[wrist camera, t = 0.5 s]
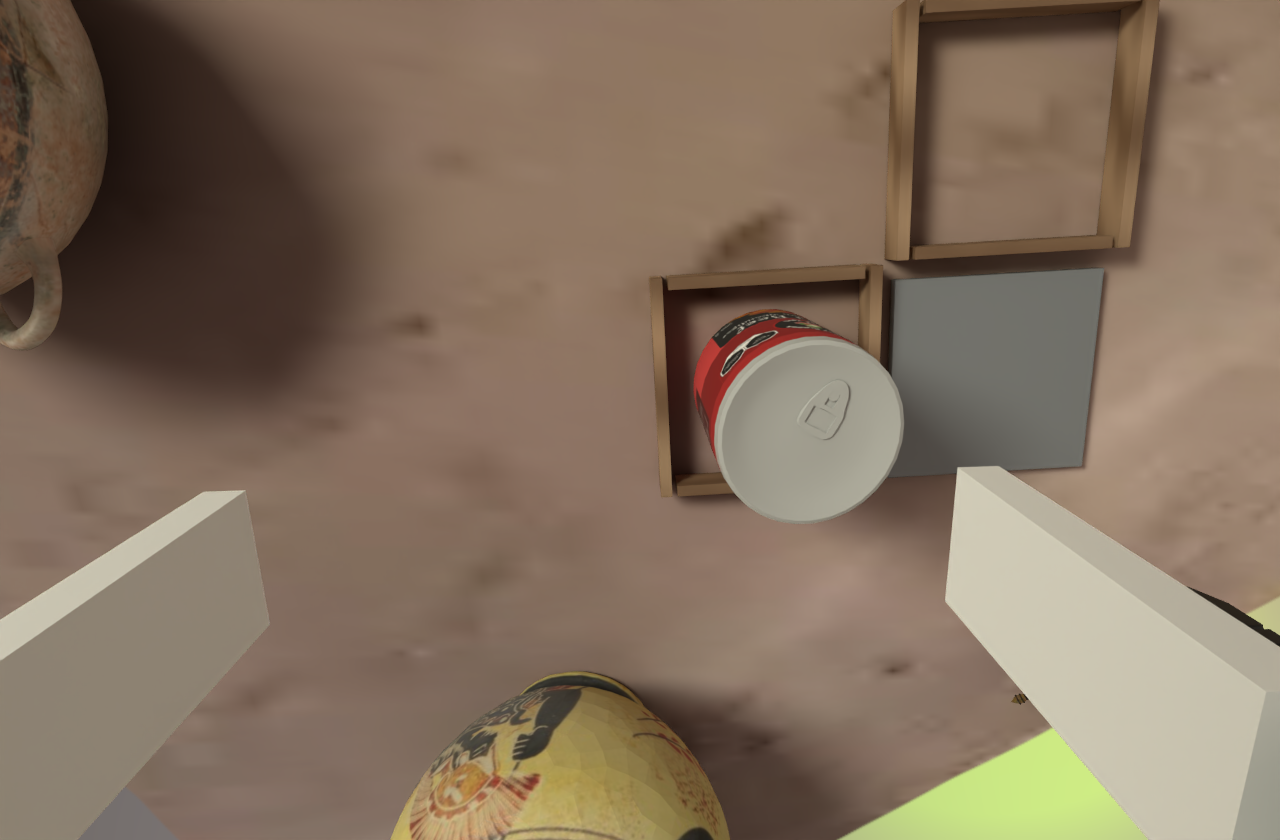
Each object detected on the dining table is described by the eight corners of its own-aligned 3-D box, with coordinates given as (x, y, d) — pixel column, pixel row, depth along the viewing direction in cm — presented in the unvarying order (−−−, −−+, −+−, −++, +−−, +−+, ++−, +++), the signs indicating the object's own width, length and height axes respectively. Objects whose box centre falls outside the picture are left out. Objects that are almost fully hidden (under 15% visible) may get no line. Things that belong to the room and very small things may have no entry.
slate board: (891, 279, 38) (895, 280, 38) (1096, 267, 38) (1104, 268, 38) (884, 474, 41) (888, 477, 41) (1075, 462, 41) (1081, 466, 41)
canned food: (848, 322, 39) (932, 359, 28) (808, 459, 41) (872, 542, 30) (711, 292, 38) (743, 319, 28) (677, 433, 40) (696, 508, 30)
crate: (649, 276, 38) (650, 279, 36) (871, 263, 38) (883, 265, 36) (659, 485, 41) (661, 497, 39) (865, 473, 41) (875, 484, 39)
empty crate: (892, 10, 35) (906, -1, 33) (1135, -4, 35) (1161, -15, 33) (884, 259, 38) (897, 260, 36) (1106, 245, 38) (1129, 246, 36)
